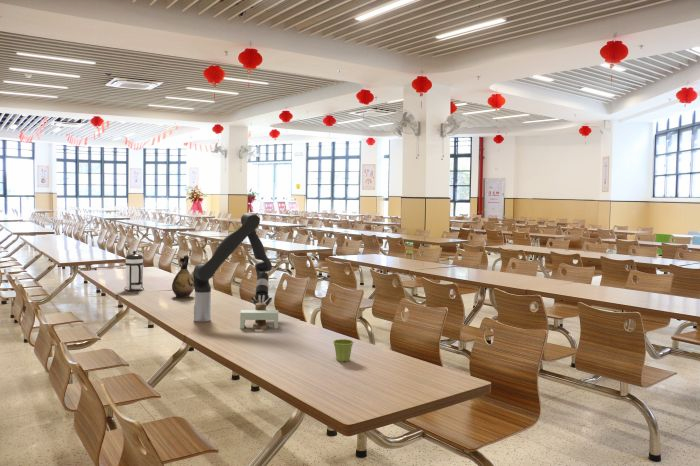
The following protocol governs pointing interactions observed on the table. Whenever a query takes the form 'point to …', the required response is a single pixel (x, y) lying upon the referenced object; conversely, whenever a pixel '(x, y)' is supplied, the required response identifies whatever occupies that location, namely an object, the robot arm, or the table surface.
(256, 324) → the brown wooden block
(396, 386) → the table surface
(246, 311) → the pale green bench
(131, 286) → the coffee press
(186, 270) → the ceramic jug
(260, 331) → the disc
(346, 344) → the plant pot
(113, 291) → the table surface
